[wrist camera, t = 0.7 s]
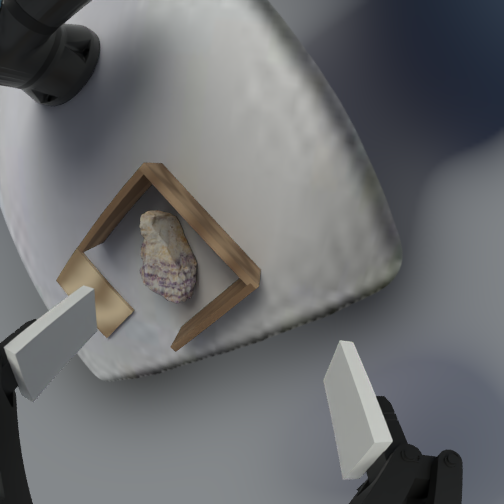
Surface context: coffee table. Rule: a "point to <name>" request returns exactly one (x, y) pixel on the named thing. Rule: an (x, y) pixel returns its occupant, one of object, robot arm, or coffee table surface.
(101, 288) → the mat
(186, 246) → the mineral specimen
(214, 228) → the brown open u-shaped frame
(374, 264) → the coffee table surface
